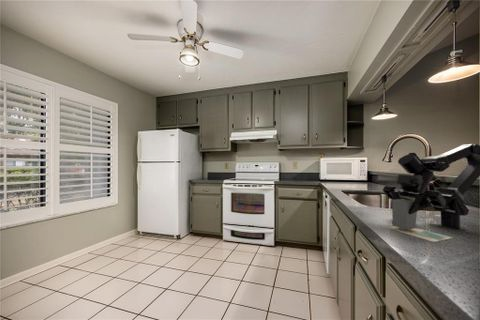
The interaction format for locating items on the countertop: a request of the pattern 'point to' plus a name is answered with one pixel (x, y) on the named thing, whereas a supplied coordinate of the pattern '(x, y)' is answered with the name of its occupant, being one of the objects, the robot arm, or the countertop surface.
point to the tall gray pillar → (403, 214)
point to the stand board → (421, 233)
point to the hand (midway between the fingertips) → (401, 211)
